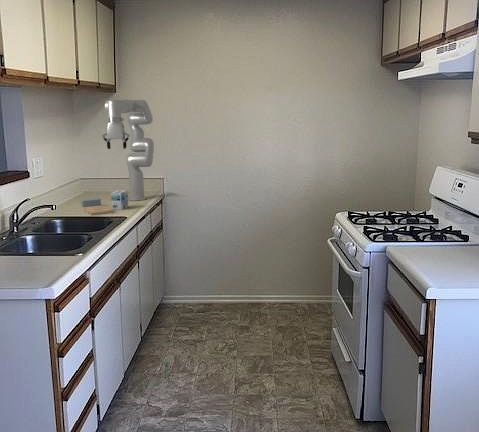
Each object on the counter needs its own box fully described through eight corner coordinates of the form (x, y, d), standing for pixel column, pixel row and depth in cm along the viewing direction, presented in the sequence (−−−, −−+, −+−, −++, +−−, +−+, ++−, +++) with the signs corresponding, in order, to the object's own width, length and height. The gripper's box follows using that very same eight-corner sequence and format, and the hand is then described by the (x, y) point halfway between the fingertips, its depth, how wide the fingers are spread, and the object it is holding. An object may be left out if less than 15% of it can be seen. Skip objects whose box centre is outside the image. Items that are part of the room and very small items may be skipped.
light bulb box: (122, 210, 340) (120, 192, 337) (111, 210, 341) (110, 192, 339) (128, 207, 350) (127, 190, 348) (118, 207, 351) (117, 190, 349)
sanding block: (81, 207, 354) (81, 199, 353) (99, 205, 359) (98, 198, 358) (83, 208, 349) (82, 201, 348) (101, 207, 354) (100, 199, 353)
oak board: (83, 209, 344) (82, 207, 344) (105, 207, 350) (105, 205, 350) (91, 215, 325) (90, 212, 324) (114, 212, 331) (114, 210, 331)
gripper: (130, 120, 341) (132, 148, 344) (103, 120, 342) (105, 148, 345) (127, 120, 333) (129, 148, 337) (99, 120, 335) (101, 149, 338)
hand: (116, 148), depth 341 cm, fingers open, 9 cm apart
